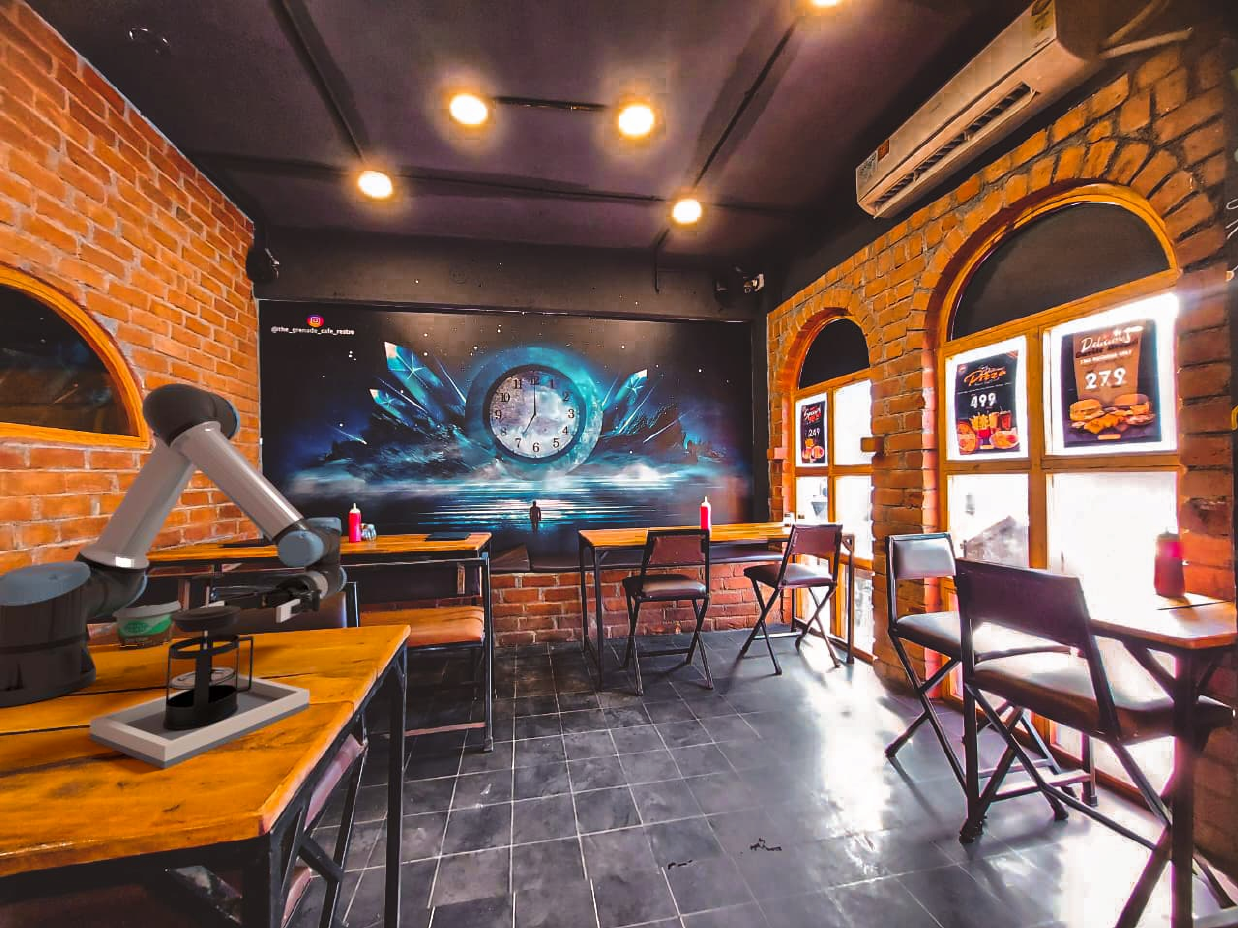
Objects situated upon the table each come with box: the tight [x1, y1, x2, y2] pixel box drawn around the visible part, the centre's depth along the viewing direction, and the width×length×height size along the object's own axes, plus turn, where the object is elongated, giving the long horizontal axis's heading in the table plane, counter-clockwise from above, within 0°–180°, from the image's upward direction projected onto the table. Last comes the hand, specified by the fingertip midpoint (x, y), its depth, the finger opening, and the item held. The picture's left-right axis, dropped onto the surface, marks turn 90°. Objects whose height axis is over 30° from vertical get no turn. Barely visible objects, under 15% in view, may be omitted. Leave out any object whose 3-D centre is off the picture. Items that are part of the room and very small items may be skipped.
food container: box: [112, 599, 182, 651], centre depth 119 cm, size 12×6×10 cm, turn 123°
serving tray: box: [88, 673, 311, 770], centre depth 80 cm, size 20×20×3 cm
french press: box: [163, 573, 254, 730], centre depth 81 cm, size 12×9×23 cm
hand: (237, 615), depth 88 cm, fingers open, 13 cm apart
